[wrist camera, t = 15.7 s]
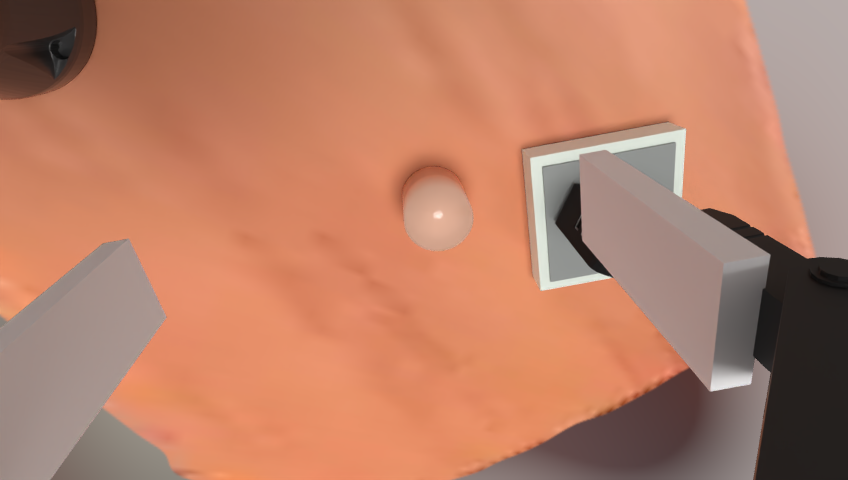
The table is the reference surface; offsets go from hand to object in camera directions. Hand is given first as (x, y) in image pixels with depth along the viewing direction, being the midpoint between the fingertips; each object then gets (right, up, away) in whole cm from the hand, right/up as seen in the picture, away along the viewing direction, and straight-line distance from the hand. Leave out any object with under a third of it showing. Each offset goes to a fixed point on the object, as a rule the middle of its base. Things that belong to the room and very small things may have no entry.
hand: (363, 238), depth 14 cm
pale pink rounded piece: (+3, +4, +33) cm, 34 cm away
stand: (+19, +4, +35) cm, 40 cm away
